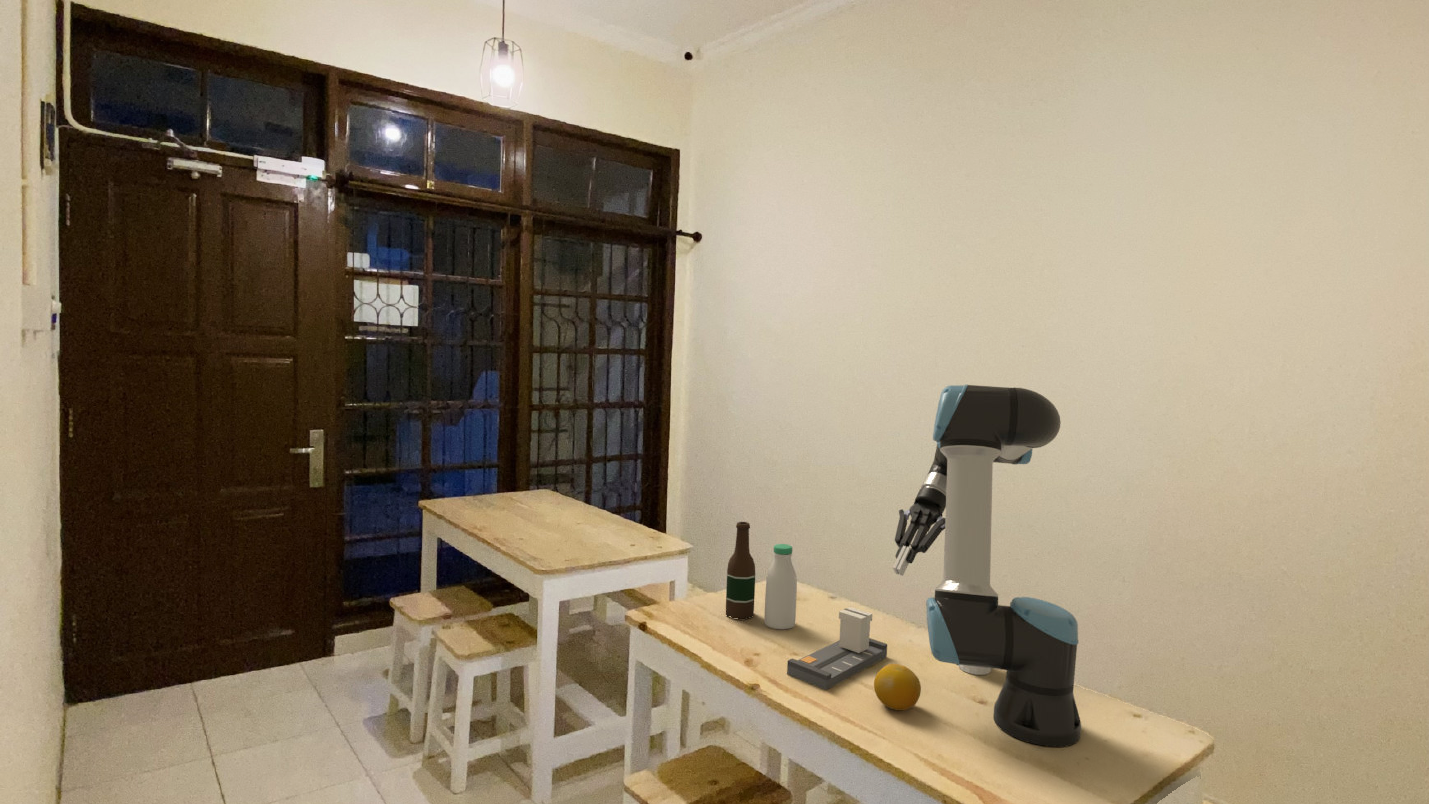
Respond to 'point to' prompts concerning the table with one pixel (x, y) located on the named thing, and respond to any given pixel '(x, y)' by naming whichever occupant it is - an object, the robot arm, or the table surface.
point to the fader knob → (854, 629)
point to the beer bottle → (741, 577)
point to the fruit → (897, 687)
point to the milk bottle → (781, 590)
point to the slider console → (835, 663)
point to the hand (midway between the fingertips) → (897, 571)
